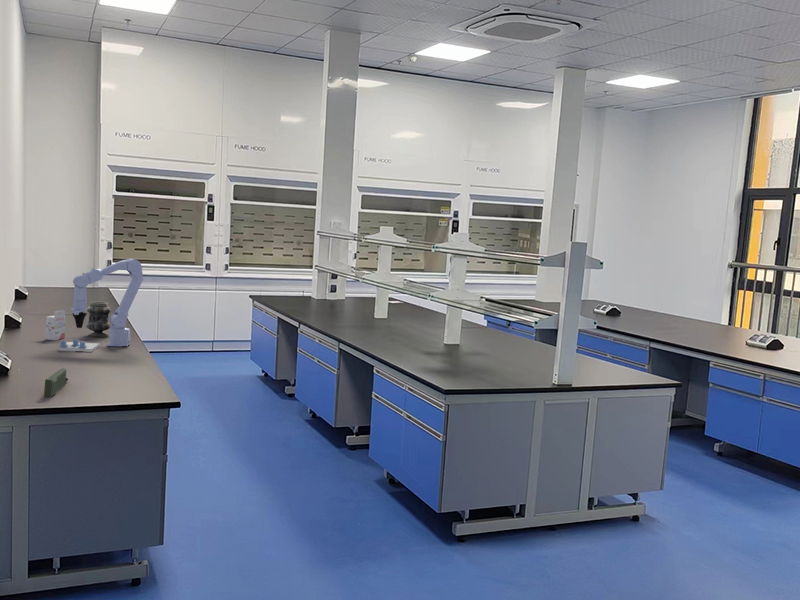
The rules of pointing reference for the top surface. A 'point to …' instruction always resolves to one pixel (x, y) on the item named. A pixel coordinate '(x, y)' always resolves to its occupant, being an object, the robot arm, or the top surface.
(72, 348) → the switch board
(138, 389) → the top surface
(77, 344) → the switch tab
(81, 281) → the robot arm
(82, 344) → the switch tab
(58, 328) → the ink cartridge box
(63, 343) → the switch tab
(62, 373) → the handheld radio
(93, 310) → the dark grey stone urn
